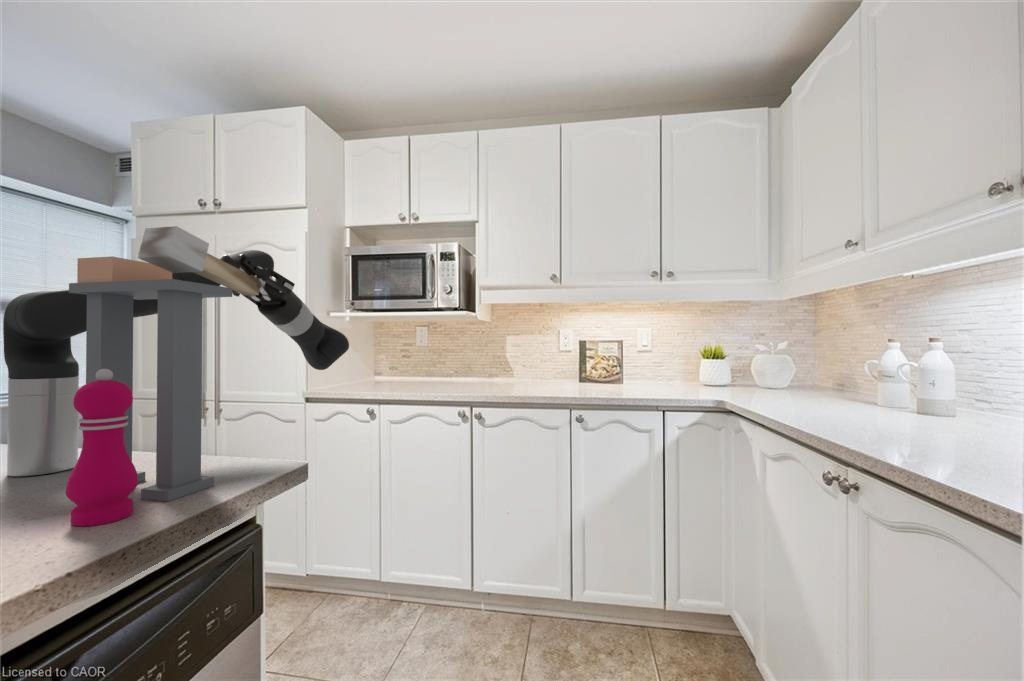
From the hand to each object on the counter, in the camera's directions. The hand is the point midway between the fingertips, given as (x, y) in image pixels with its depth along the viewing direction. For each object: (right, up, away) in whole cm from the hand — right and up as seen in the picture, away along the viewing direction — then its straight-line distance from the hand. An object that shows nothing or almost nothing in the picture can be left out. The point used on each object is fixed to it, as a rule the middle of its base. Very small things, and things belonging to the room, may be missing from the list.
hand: (231, 258), depth 85 cm
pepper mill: (-3, -39, -23) cm, 45 cm away
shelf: (-7, -39, -9) cm, 41 cm away
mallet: (-1, -5, -5) cm, 7 cm away
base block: (-13, -6, -7) cm, 16 cm away
